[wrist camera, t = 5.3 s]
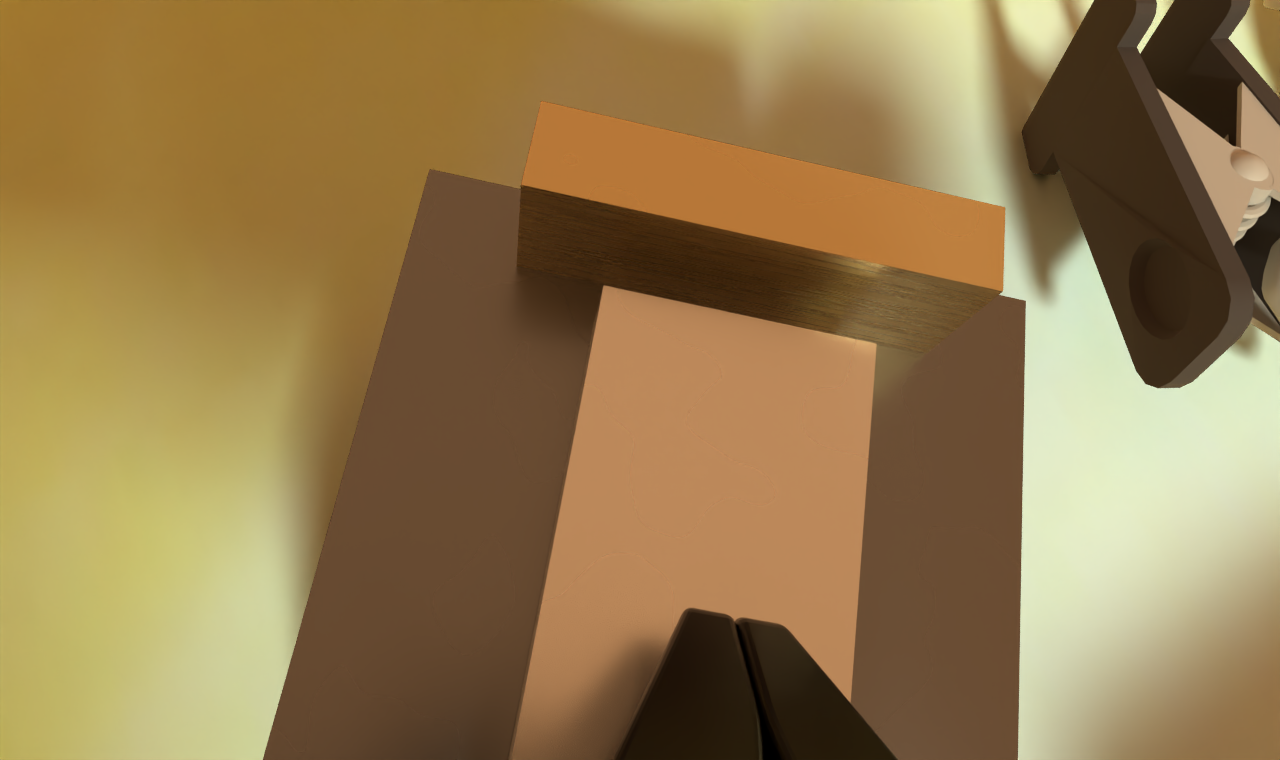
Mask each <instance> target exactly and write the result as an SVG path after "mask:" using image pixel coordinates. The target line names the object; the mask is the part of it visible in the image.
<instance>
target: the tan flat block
mask: <svg viewBox="0 0 1280 760" xmlns="http://www.w3.org/2000/svg"><path fill="white" fill-rule="evenodd" d="M876 346H877V344H876V343H871V342H866V341H862V340H857V339H852V338H848V337H843V336H838V335H834V334H829V333H824V332H819V331H815V330H810V329H805V328H801V327H796V326H791V325H787V324H782V323H777V322H773V321H768V320H763V319H759V318H754V317H749V316H745V315H740V314H735V313H731V312H726V311H721V310H717V309H712V308H707V307H703V306H698V305H693V304H689V303H684V302H679V301H675V300H670V299H665V298H661V297H656V296H651V295H647V294H642V293H637V292H632V291H628V290H623V289H618V288H614V287H609V286H603V290H602V294H601V297H600V301H599V305H598V309H597V313H596V316H595V320H594V324H593V329H592V335H591V340H590V345H589V350H588V355H587V360H586V365H585V370H584V375H583V380H582V386H581V391H580V396H579V401H578V406H577V411H576V416H575V421H574V426H573V431H572V437H571V442H570V447H569V452H568V457H567V462H566V467H565V472H564V477H563V482H562V488H561V493H560V498H559V503H558V508H557V513H556V518H555V523H554V528H553V533H552V539H551V544H550V549H549V554H548V559H547V564H546V569H545V574H544V579H543V584H542V590H541V595H540V600H539V605H538V610H537V615H536V620H535V625H534V630H533V635H532V641H531V646H530V651H529V656H528V661H527V666H526V671H525V676H524V681H523V686H522V692H521V697H520V702H519V707H518V712H517V717H516V722H515V727H514V732H513V737H512V743H511V748H510V753H509V758H508V760H613V758H614V756H615V754H616V752H617V749H618V747H619V745H620V743H621V741H622V739H623V737H624V735H625V733H626V730H627V728H628V726H629V724H630V722H631V720H632V718H633V716H634V714H635V711H636V709H637V707H638V705H639V703H640V701H641V699H642V697H643V695H644V692H645V690H646V688H647V686H648V684H649V682H650V680H651V678H652V676H653V673H654V671H655V669H656V667H657V665H658V663H659V661H660V659H661V657H662V654H663V652H664V650H665V648H666V646H667V644H668V642H669V640H670V638H671V635H672V633H673V631H674V629H675V627H676V625H677V623H678V621H679V619H680V617H681V615H682V613H683V611H684V610H685V609H687V608H697V609H702V610H708V611H713V612H718V613H724V614H727V615H729V616H731V617H732V618H733V619H734V621H735V620H736V619H738V618H740V617H745V618H751V619H756V620H762V621H767V622H773V623H778V624H781V625H783V626H785V627H786V628H787V629H788V630H789V631H790V632H791V633H792V634H793V635H794V637H795V638H796V639H797V640H798V641H799V643H800V644H801V645H802V646H803V647H804V648H805V650H806V651H807V652H808V653H809V654H810V656H811V657H812V658H813V659H814V660H815V661H816V663H817V664H818V665H819V666H820V667H821V669H822V670H823V671H824V672H825V673H826V674H827V676H828V677H829V678H830V679H831V680H832V682H833V683H834V684H835V685H836V686H837V688H838V689H839V690H840V691H841V692H842V693H843V695H844V696H845V697H846V698H847V699H848V701H849V702H850V703H851V690H852V676H853V662H854V648H855V635H856V621H857V607H858V594H859V580H860V566H861V552H862V539H863V525H864V511H865V497H866V484H867V470H868V456H869V442H870V429H871V415H872V401H873V387H874V374H875V360H876Z"/></svg>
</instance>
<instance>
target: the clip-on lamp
mask: <svg viewBox="0 0 1280 760" xmlns="http://www.w3.org/2000/svg"><path fill="white" fill-rule="evenodd" d="M1249 5H1250V0H1174V2H1173V4H1172V5H1171V7H1170V8H1169V10H1168V11H1167V13H1166V15H1165V16H1164V18H1163V19H1162V21H1161V22H1160V24H1159V25H1158V27H1157V29H1156V30H1155V32H1154V33H1153V35H1152V36H1151V38H1150V40H1149V41H1148V43H1147V44H1146V46H1145V47H1144V49H1143V51H1142V52H1141V54H1140V53H1139V51H1138V49H1137V46H1138V44H1139V42H1140V41H1141V39H1142V38H1143V36H1144V35H1145V33H1146V31H1147V30H1148V28H1149V27H1150V25H1151V23H1152V21H1153V19H1154V17H1155V14H1156V7H1157V2H1156V0H1094V2H1093V3H1092V5H1091V7H1090V9H1089V11H1088V12H1087V14H1086V16H1085V18H1084V20H1083V21H1082V23H1081V25H1080V27H1079V29H1078V30H1077V32H1076V34H1075V36H1074V38H1073V39H1072V41H1071V43H1070V45H1069V47H1068V48H1067V50H1066V52H1065V54H1064V56H1063V57H1062V59H1061V61H1060V63H1059V64H1058V66H1057V68H1056V70H1055V72H1054V73H1053V75H1052V77H1051V79H1050V81H1049V82H1048V84H1047V86H1046V88H1045V90H1044V91H1043V93H1042V95H1041V97H1040V99H1039V100H1038V102H1037V104H1036V106H1035V108H1034V109H1033V111H1032V113H1031V115H1030V117H1029V118H1028V120H1027V122H1026V124H1025V126H1024V127H1023V130H1022V135H1023V140H1024V144H1025V149H1026V153H1027V158H1028V163H1029V167H1030V170H1031V171H1032V173H1033V174H1056V173H1057V172H1058V171H1059V169H1060V171H1061V174H1062V177H1063V179H1064V182H1065V184H1066V187H1067V190H1068V192H1069V195H1070V198H1071V200H1072V203H1073V206H1074V208H1075V211H1076V213H1077V216H1078V219H1079V221H1080V224H1081V227H1082V229H1083V232H1084V235H1085V237H1086V240H1087V242H1088V245H1089V248H1090V250H1091V253H1092V256H1093V258H1094V261H1095V264H1096V266H1097V269H1098V271H1099V274H1100V277H1101V279H1102V282H1103V285H1104V287H1105V290H1106V293H1107V295H1108V298H1109V301H1110V303H1111V306H1112V308H1113V311H1114V314H1115V316H1116V319H1117V322H1118V324H1119V327H1120V330H1121V332H1122V335H1123V337H1124V340H1125V343H1126V345H1127V348H1128V351H1129V353H1130V356H1131V359H1132V361H1133V364H1134V366H1135V369H1136V371H1137V373H1138V374H1139V375H1140V377H1141V378H1142V380H1143V381H1144V382H1145V384H1148V385H1150V386H1153V387H1156V388H1180V387H1182V386H1184V385H1187V384H1189V383H1191V382H1193V381H1194V380H1195V379H1196V378H1197V377H1198V376H1199V375H1200V374H1201V373H1203V372H1204V371H1205V370H1206V369H1207V368H1208V367H1209V366H1210V365H1211V364H1212V363H1213V362H1214V361H1215V360H1217V359H1218V358H1219V357H1220V356H1221V355H1222V354H1223V353H1224V352H1225V351H1226V350H1227V349H1228V348H1229V347H1230V346H1232V345H1233V344H1234V343H1235V342H1236V341H1237V340H1238V339H1239V338H1240V337H1241V336H1242V334H1243V333H1244V331H1245V330H1246V328H1247V326H1248V325H1249V323H1251V324H1253V325H1254V326H1256V327H1257V328H1259V329H1260V330H1262V331H1264V332H1265V333H1267V334H1268V335H1270V336H1271V337H1273V338H1274V339H1276V340H1278V341H1279V342H1280V94H1279V96H1277V95H1276V94H1275V92H1274V91H1273V90H1272V89H1271V88H1270V87H1269V85H1268V84H1267V83H1266V82H1265V81H1264V80H1263V78H1262V77H1261V76H1260V75H1259V74H1258V73H1257V71H1256V70H1255V69H1254V68H1253V67H1252V66H1251V64H1250V63H1249V62H1248V61H1247V60H1246V59H1245V57H1244V56H1243V55H1242V54H1241V53H1240V52H1239V50H1238V49H1237V48H1236V47H1235V46H1234V45H1233V43H1232V42H1231V41H1230V40H1229V39H1228V38H1229V36H1230V35H1231V34H1232V32H1233V31H1234V29H1235V28H1236V27H1237V25H1238V24H1239V22H1240V21H1241V20H1242V18H1243V17H1244V16H1245V14H1246V12H1247V10H1248V8H1249ZM1263 6H1264V7H1265V8H1269V9H1274V10H1279V11H1280V0H1264V1H1263Z"/></svg>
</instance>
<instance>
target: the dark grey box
mask: <svg viewBox="0 0 1280 760" xmlns="http://www.w3.org/2000/svg"><path fill="white" fill-rule="evenodd" d="M1004 234H1005V207H1001V206H997V205H992V204H988V203H984V202H979V201H975V200H971V199H966V198H962V197H958V196H953V195H949V194H945V193H940V192H936V191H931V190H927V189H923V188H918V187H914V186H910V185H905V184H901V183H897V182H892V181H888V180H884V179H879V178H875V177H870V176H866V175H862V174H857V173H853V172H849V171H844V170H840V169H836V168H831V167H827V166H823V165H818V164H814V163H809V162H805V161H801V160H796V159H792V158H788V157H783V156H779V155H775V154H770V153H766V152H762V151H757V150H753V149H748V148H744V147H740V146H735V145H731V144H727V143H722V142H718V141H714V140H709V139H705V138H701V137H696V136H692V135H688V134H683V133H679V132H674V131H670V130H666V129H661V128H657V127H653V126H648V125H644V124H640V123H635V122H631V121H627V120H622V119H618V118H613V117H609V116H605V115H600V114H596V113H592V112H587V111H583V110H579V109H574V108H570V107H566V106H561V105H557V104H552V103H548V102H544V101H541V104H540V108H539V112H538V116H537V120H536V124H535V129H534V133H533V137H532V141H531V145H530V149H529V154H528V158H527V162H526V166H525V170H524V174H523V179H522V183H521V189H517V188H512V187H508V186H503V185H499V184H494V183H490V182H485V181H481V180H476V179H472V178H467V177H463V176H458V175H454V174H449V173H445V172H440V171H435V170H431V169H430V170H429V174H428V177H427V181H426V184H425V188H424V191H423V195H422V198H421V202H420V205H419V209H418V213H417V216H416V220H415V223H414V227H413V230H412V234H411V237H410V241H409V244H408V248H407V251H406V255H405V259H404V262H403V266H402V269H401V273H400V276H399V280H398V283H397V287H396V290H395V294H394V297H393V301H392V305H391V308H390V312H389V315H388V319H387V322H386V326H385V329H384V333H383V336H382V340H381V343H380V347H379V351H378V354H377V358H376V361H375V365H374V368H373V372H372V375H371V379H370V382H369V386H368V389H367V393H366V397H365V400H364V404H363V407H362V411H361V414H360V418H359V421H358V425H357V428H356V432H355V435H354V439H353V443H352V446H351V450H350V453H349V457H348V460H347V464H346V467H345V471H344V474H343V478H342V481H341V485H340V489H339V492H338V496H337V499H336V503H335V506H334V510H333V513H332V517H331V520H330V524H329V527H328V531H327V535H326V538H325V542H324V545H323V549H322V552H321V556H320V559H319V563H318V566H317V570H316V573H315V577H314V581H313V584H312V588H311V591H310V595H309V598H308V602H307V605H306V609H305V612H304V616H303V619H302V623H301V627H300V630H299V634H298V637H297V641H296V644H295V648H294V651H293V655H292V658H291V662H290V665H289V669H288V673H287V676H286V680H285V683H284V687H283V690H282V694H281V697H280V701H279V704H278V708H277V711H276V715H275V719H274V722H273V726H272V729H271V733H270V736H269V740H268V743H267V747H266V750H265V754H264V757H263V760H508V758H509V753H510V748H511V743H512V737H513V732H514V727H515V722H516V717H517V712H518V707H519V702H520V697H521V692H522V686H523V681H524V676H525V671H526V666H527V661H528V656H529V651H530V646H531V641H532V635H533V630H534V625H535V620H536V615H537V610H538V605H539V600H540V595H541V590H542V584H543V579H544V574H545V569H546V564H547V559H548V554H549V549H550V544H551V539H552V533H553V528H554V523H555V518H556V513H557V508H558V503H559V498H560V493H561V488H562V482H563V477H564V472H565V467H566V462H567V457H568V452H569V447H570V442H571V437H572V431H573V426H574V421H575V416H576V411H577V406H578V401H579V396H580V391H581V386H582V380H583V375H584V370H585V365H586V360H587V355H588V350H589V345H590V340H591V335H592V329H593V324H594V320H595V316H596V313H597V309H598V305H599V301H600V297H601V294H602V290H603V286H609V287H614V288H618V289H623V290H628V291H632V292H637V293H642V294H647V295H651V296H656V297H661V298H665V299H670V300H675V301H679V302H684V303H689V304H693V305H698V306H703V307H707V308H712V309H717V310H721V311H726V312H731V313H735V314H740V315H745V316H749V317H754V318H759V319H763V320H768V321H773V322H777V323H782V324H787V325H791V326H796V327H801V328H805V329H810V330H815V331H819V332H824V333H829V334H834V335H838V336H843V337H848V338H852V339H857V340H862V341H866V342H871V343H876V344H877V346H876V360H875V374H874V387H873V401H872V415H871V429H870V442H869V456H868V470H867V484H866V497H865V511H864V525H863V539H862V552H861V566H860V580H859V594H858V607H857V621H856V635H855V648H854V662H853V676H852V690H851V704H852V705H853V706H854V708H855V709H856V710H857V711H858V712H859V714H860V715H861V716H862V717H863V718H864V719H865V721H866V722H867V723H868V724H869V725H870V727H871V728H872V729H873V730H874V731H875V732H876V734H877V735H878V736H879V737H880V738H881V740H882V741H883V742H884V743H885V744H886V745H887V747H888V748H889V749H890V750H891V751H892V753H893V754H894V755H895V756H896V757H897V759H898V760H1018V713H1019V655H1020V597H1021V539H1022V481H1023V423H1024V366H1025V308H1026V301H1024V300H1019V299H1015V298H1010V297H1005V296H1001V295H999V294H1000V293H1001V292H1003V271H1004Z"/></svg>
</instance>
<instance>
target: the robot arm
mask: <svg viewBox="0 0 1280 760" xmlns="http://www.w3.org/2000/svg"><path fill="white" fill-rule="evenodd" d="M613 760H898V759H897V757H896V756H895V755H894V754H893V753H892V751H891V750H890V749H889V748H888V747H887V745H886V744H885V743H884V742H883V741H882V740H881V738H880V737H879V736H878V735H877V734H876V732H875V731H874V730H873V729H872V728H871V727H870V725H869V724H868V723H867V722H866V721H865V719H864V718H863V717H862V716H861V715H860V714H859V712H858V711H857V710H856V709H855V708H854V706H853V705H852V704H851V703H850V702H849V701H848V699H847V698H846V697H845V696H844V695H843V693H842V692H841V691H840V690H839V689H838V688H837V686H836V685H835V684H834V683H833V682H832V680H831V679H830V678H829V677H828V676H827V674H826V673H825V672H824V671H823V670H822V669H821V667H820V666H819V665H818V664H817V663H816V661H815V660H814V659H813V658H812V657H811V656H810V654H809V653H808V652H807V651H806V650H805V648H804V647H803V646H802V645H801V644H800V643H799V641H798V640H797V639H796V638H795V637H794V635H793V634H792V633H791V632H790V631H789V630H788V629H787V628H786V627H785V626H783V625H781V624H778V623H773V622H767V621H762V620H756V619H751V618H745V617H740V618H738V619H736V620H735V621H734V619H733V618H732V617H731V616H729V615H727V614H724V613H718V612H713V611H708V610H702V609H697V608H687V609H685V610H684V611H683V613H682V615H681V617H680V619H679V621H678V623H677V625H676V627H675V629H674V631H673V633H672V635H671V638H670V640H669V642H668V644H667V646H666V648H665V650H664V652H663V654H662V657H661V659H660V661H659V663H658V665H657V667H656V669H655V671H654V673H653V676H652V678H651V680H650V682H649V684H648V686H647V688H646V690H645V692H644V695H643V697H642V699H641V701H640V703H639V705H638V707H637V709H636V711H635V714H634V716H633V718H632V720H631V722H630V724H629V726H628V728H627V730H626V733H625V735H624V737H623V739H622V741H621V743H620V745H619V747H618V749H617V752H616V754H615V756H614V758H613Z"/></svg>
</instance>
